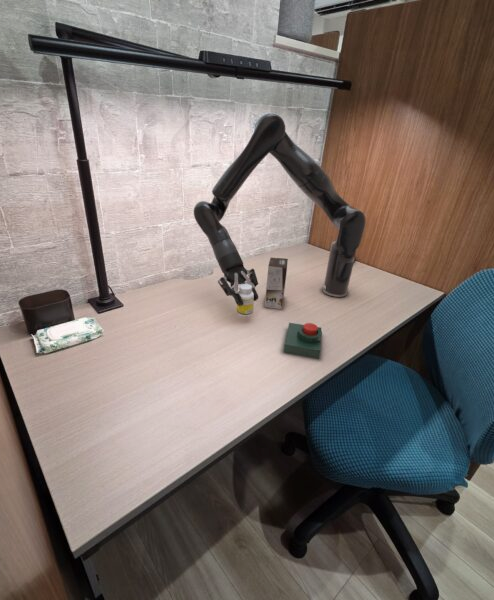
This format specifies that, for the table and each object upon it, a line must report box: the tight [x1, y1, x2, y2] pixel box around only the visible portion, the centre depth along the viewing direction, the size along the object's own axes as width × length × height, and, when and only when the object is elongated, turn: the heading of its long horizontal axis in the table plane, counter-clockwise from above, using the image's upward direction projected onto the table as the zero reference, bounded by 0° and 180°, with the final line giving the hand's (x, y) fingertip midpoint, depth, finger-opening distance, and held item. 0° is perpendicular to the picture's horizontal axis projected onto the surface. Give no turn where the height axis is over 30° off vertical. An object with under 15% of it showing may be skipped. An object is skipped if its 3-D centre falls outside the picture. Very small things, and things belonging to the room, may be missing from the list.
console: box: [283, 322, 323, 360], centre depth 94 cm, size 12×10×5 cm
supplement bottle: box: [236, 284, 255, 317], centre depth 103 cm, size 5×5×10 cm
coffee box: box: [264, 257, 289, 310], centre depth 113 cm, size 9×6×16 cm
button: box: [303, 322, 319, 335], centre depth 92 cm, size 4×4×2 cm
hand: (248, 302), depth 101 cm, fingers closed on supplement bottle, 5 cm apart
